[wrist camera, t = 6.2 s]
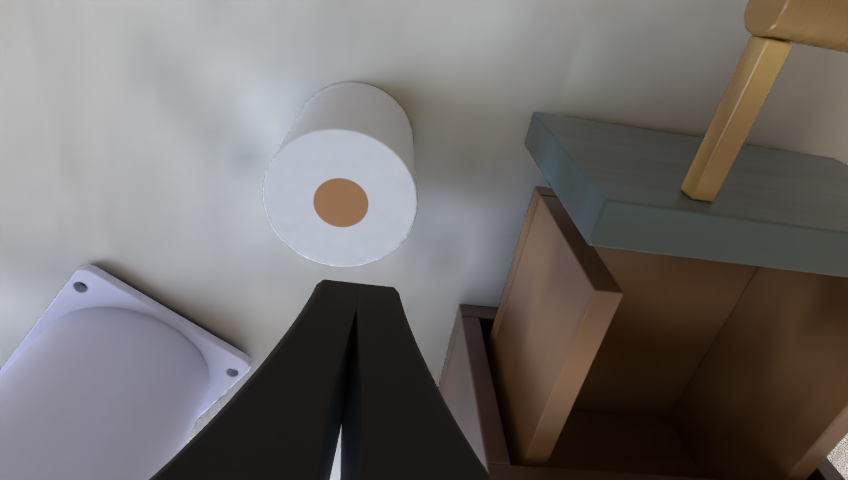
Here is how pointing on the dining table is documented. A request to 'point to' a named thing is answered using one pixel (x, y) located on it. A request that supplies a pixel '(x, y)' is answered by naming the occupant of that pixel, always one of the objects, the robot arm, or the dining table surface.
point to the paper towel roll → (344, 177)
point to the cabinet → (480, 418)
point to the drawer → (682, 289)
